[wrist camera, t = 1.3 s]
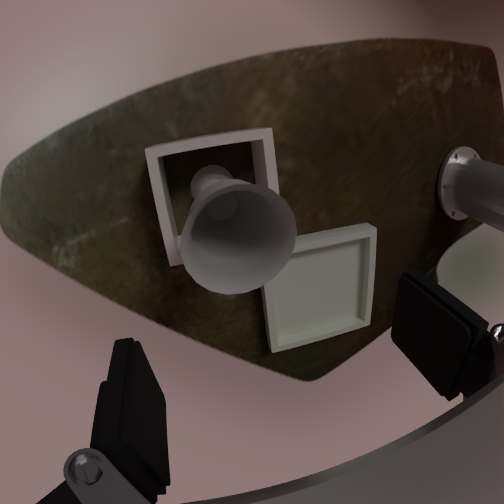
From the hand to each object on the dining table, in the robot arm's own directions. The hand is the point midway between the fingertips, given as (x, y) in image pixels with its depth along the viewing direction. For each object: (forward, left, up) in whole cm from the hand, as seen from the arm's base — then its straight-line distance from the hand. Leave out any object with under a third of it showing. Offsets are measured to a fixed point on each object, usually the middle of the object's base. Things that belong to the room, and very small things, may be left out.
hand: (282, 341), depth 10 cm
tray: (-12, +16, -27) cm, 34 cm away
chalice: (0, 0, -28) cm, 28 cm away
